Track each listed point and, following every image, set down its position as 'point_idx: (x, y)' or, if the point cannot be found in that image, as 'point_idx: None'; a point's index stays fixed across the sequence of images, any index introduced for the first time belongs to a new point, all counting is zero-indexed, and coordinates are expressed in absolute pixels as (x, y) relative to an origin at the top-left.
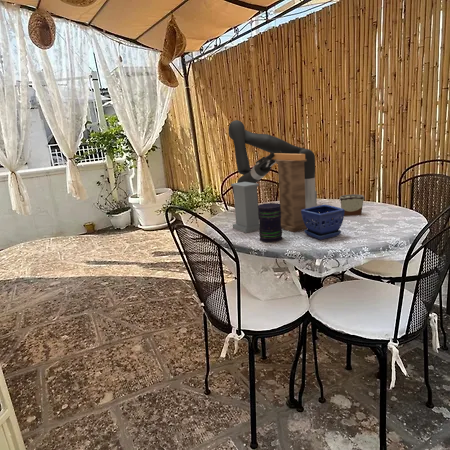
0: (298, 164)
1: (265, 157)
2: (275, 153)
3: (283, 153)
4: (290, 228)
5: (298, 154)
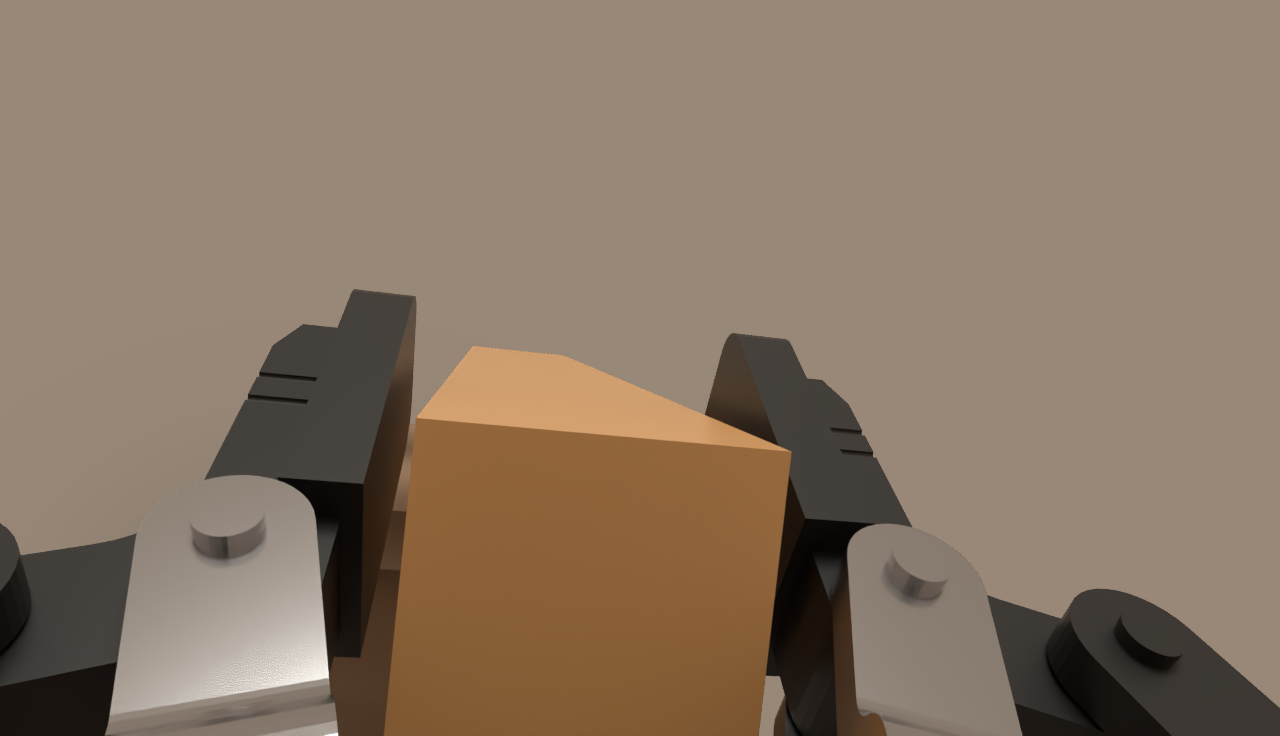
0: None
1: (1028, 616)
2: (503, 404)
3: (460, 369)
4: None
5: (551, 355)
